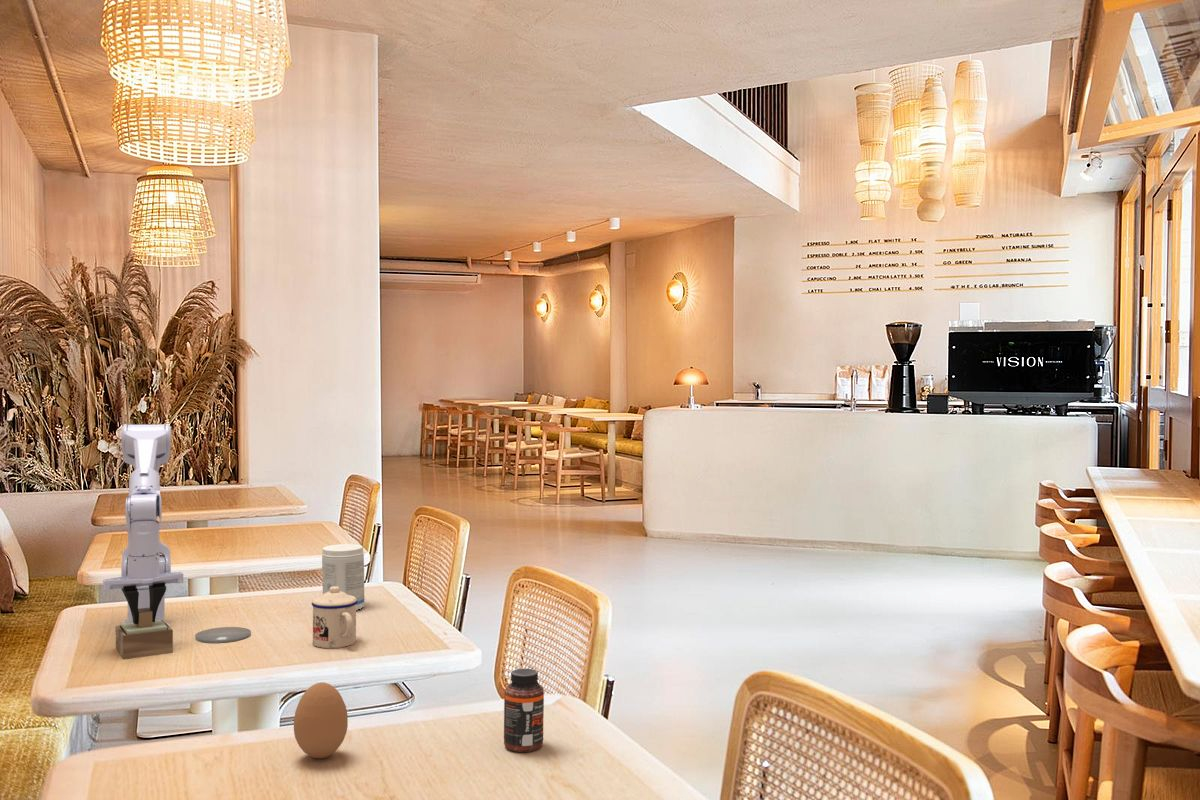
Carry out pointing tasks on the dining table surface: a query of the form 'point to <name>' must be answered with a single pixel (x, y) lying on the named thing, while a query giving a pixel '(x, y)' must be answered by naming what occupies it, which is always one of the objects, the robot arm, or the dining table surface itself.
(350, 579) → the supplement tub
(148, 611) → the lid
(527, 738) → the supplement bottle
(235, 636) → the coaster
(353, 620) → the teacup with lid
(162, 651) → the brown wooden open box
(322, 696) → the egg
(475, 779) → the dining table surface
